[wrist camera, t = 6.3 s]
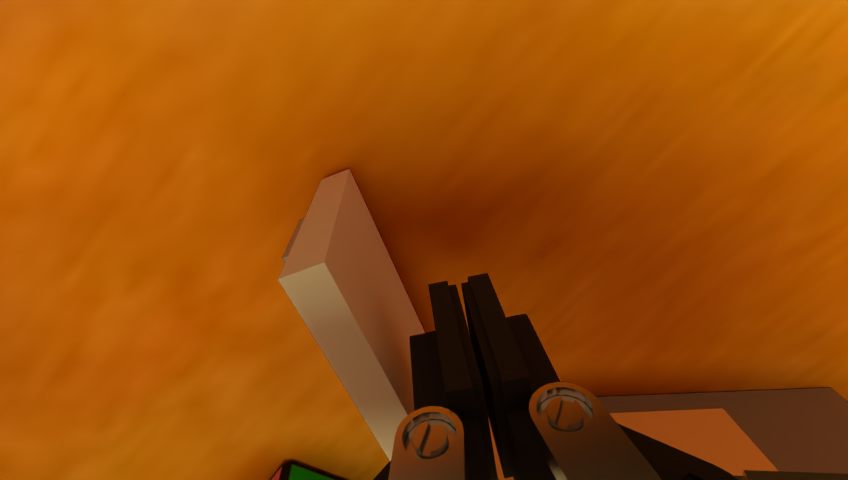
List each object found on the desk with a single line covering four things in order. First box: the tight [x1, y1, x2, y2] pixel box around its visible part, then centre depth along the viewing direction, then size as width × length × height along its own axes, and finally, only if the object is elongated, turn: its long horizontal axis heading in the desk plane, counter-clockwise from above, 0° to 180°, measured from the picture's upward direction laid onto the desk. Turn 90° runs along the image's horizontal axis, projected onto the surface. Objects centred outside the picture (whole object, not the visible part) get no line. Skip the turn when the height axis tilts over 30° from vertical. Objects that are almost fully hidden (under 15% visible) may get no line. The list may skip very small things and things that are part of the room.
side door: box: [278, 169, 425, 461], centre depth 14 cm, size 13×2×7 cm, turn 20°
